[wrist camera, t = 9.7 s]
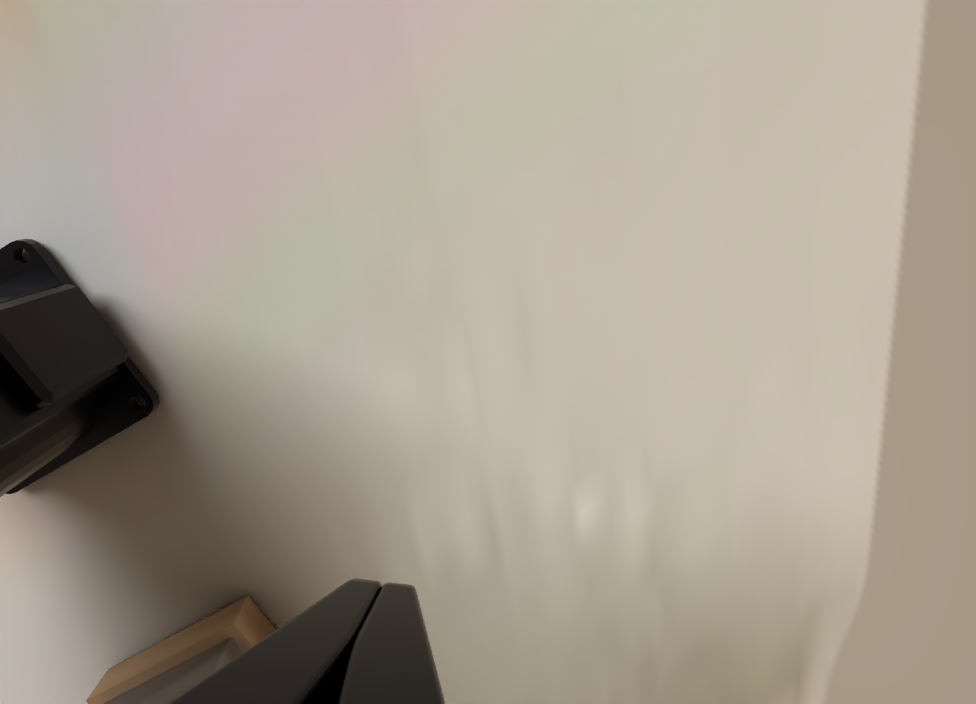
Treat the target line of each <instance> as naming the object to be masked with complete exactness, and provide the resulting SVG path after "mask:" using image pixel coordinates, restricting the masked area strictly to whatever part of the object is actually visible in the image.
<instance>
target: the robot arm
mask: <svg viewBox="0 0 976 704" xmlns="http://www.w3.org/2000/svg"><path fill="white" fill-rule="evenodd" d="M24 249H25V250H26V251H27V252H29V254H30V256H31V261H30V263H28V262H27V261H26V260H24V258H23V256H22V252H23V250H24ZM136 396H138V397H141V398H143V399H144V400H145V403H146V406H141V405H140V404H138V403H137V401H136ZM158 405H159V397H158V395H157V393H156V391H155V390H154V389H153V387H152V386H151V385H150V384H149V382H148V381H147V380H146V378H145V377H144V376H143V375H142V373H141V372H140V371H139V369H138V368H137V367H136V366H135V364H134V363H133V362H132V360H131V359H130V358H129V357H128V355H127V350H126V348H125V347H124V346H123V344H122V343H121V342H120V340H119V339H118V338H117V337H116V335H115V334H114V333H113V331H112V330H111V329H110V327H109V326H108V325H107V324H106V322H105V321H104V320H103V318H102V317H101V316H100V315H99V313H98V312H97V311H96V309H95V308H94V307H93V305H92V304H91V303H90V302H89V300H88V299H87V298H86V296H85V295H84V294H83V293H82V291H81V290H80V289H79V288H78V287H76V286H73V284H72V283H71V282H70V280H69V279H68V278H67V277H66V275H65V274H64V273H63V271H62V270H61V269H60V268H59V266H58V265H57V264H56V262H55V261H54V260H53V259H52V257H51V256H50V255H49V253H48V252H47V251H46V250H45V248H44V247H43V246H42V245H41V244H40V243H39V242H37V241H35V240H32V239H22V240H16V241H14V242H11V243H9V244H8V245H6V246H5V247H3V248H1V249H0V497H1V496H2V495H3V494H12V493H15V492H17V491H19V490H21V489H23V488H24V487H26V486H28V485H30V484H31V483H33V482H35V481H36V480H38V479H40V478H42V477H43V476H45V475H47V474H48V473H50V472H52V471H54V470H55V469H57V468H59V467H61V466H62V465H64V464H66V463H67V462H69V461H71V460H73V459H74V458H76V457H78V456H79V455H81V454H83V453H85V452H86V451H88V450H90V449H92V448H93V447H95V446H97V445H98V444H100V443H102V442H104V441H105V440H107V439H109V438H110V437H112V436H114V435H116V434H117V433H119V432H121V431H123V430H124V429H126V428H128V427H129V426H131V425H133V424H135V423H136V422H138V421H140V420H141V419H143V418H145V417H147V416H148V415H149V414H151V413H152V412H153V411H154V410H155V409H157V407H158ZM169 704H445V701H444V698H443V694H442V690H441V686H440V682H439V678H438V674H437V670H436V666H435V662H434V659H433V655H432V651H431V647H430V643H429V639H428V635H427V631H426V627H425V623H424V620H423V616H422V612H421V608H420V604H419V600H418V596H417V592H416V589H415V587H414V586H412V585H406V584H397V583H386V584H384V585H383V586H382V584H381V583H380V582H378V581H371V580H363V579H352V580H349V581H347V582H346V583H344V584H343V585H342V586H340V587H339V588H337V589H336V590H334V591H333V592H331V593H330V594H328V595H327V596H325V597H324V598H323V599H321V600H320V601H318V602H317V603H315V604H314V605H312V606H311V607H309V608H308V609H306V610H305V611H304V612H302V613H301V614H299V615H298V616H296V617H295V618H293V619H292V620H290V621H289V622H287V623H286V624H284V625H283V626H282V627H280V628H279V629H277V630H276V631H274V632H273V633H271V634H270V635H268V636H267V637H265V638H264V639H263V640H261V641H260V642H258V643H257V644H255V645H254V646H252V647H251V648H249V649H248V650H246V651H245V652H243V653H242V654H241V655H239V656H238V657H236V658H235V659H233V660H232V661H230V662H229V663H227V664H226V665H224V666H223V667H222V668H220V669H219V670H217V671H216V672H214V673H213V674H211V675H210V676H208V677H207V678H205V679H204V680H202V681H201V682H200V683H198V684H197V685H195V686H194V687H192V688H191V689H189V690H188V691H186V692H185V693H183V694H182V695H181V696H179V697H178V698H176V699H175V700H173V701H172V702H170V703H169Z"/></svg>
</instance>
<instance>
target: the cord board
mask: <svg viewBox="0 0 976 704" xmlns="http://www.w3.org/2000/svg"><path fill="white" fill-rule="evenodd" d="M274 631H276V629H275V628H274V627H273V625H272V624H271V623H270V622H269V620H268V619H267V618H266V617H265V615H264V614H263V613H262V612H261V611H260V609H259V608H258V607H257V606H256V604H255V603H254V602H253V601H252V599H251V598H250V597H249V596H246V597H244V598H242V599H240V600H238V601H236V602H234V603H233V604H231V605H229V606H227V607H225V608H223V609H221V610H219V611H217V612H216V613H214V614H212V615H210V616H208V617H206V618H204V619H202V620H200V621H199V622H197V623H195V624H193V625H191V626H189V627H187V628H185V629H183V630H181V631H180V632H178V633H176V634H174V635H172V636H170V637H168V638H166V639H164V640H163V641H161V642H159V643H157V644H155V645H153V646H151V647H149V648H147V649H145V650H144V651H142V652H140V653H138V654H136V655H134V656H132V657H130V658H128V659H127V660H125V661H123V662H121V663H119V664H117V665H115V666H113V667H111V668H110V669H108V671H107V672H106V674H105V675H104V676H103V678H102V679H101V681H100V682H99V683H98V685H97V686H96V688H95V689H94V690H93V692H92V693H91V695H90V696H89V697H88V699H87V700H86V702H87V703H88V704H169V703H170V702H172V701H173V700H175V699H176V698H178V697H179V696H181V695H182V694H183V693H185V692H186V691H188V690H189V689H191V688H192V687H194V686H195V685H197V684H198V683H200V682H201V681H202V680H204V679H205V678H207V677H208V676H210V675H211V674H213V673H214V672H216V671H217V670H219V669H220V668H222V667H223V666H224V665H226V664H227V663H229V662H230V661H232V660H233V659H235V658H236V657H238V656H239V655H241V654H242V653H243V652H245V651H246V650H248V649H249V648H251V647H252V646H254V645H255V644H257V643H258V642H260V641H261V640H263V639H264V638H265V637H267V636H268V635H270V634H271V633H273V632H274Z"/></svg>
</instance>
